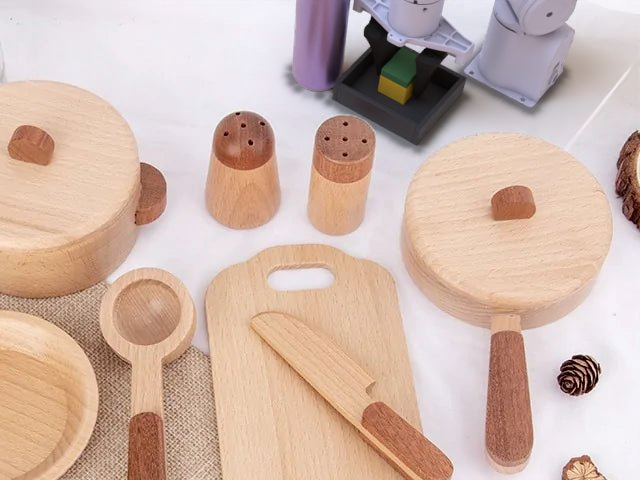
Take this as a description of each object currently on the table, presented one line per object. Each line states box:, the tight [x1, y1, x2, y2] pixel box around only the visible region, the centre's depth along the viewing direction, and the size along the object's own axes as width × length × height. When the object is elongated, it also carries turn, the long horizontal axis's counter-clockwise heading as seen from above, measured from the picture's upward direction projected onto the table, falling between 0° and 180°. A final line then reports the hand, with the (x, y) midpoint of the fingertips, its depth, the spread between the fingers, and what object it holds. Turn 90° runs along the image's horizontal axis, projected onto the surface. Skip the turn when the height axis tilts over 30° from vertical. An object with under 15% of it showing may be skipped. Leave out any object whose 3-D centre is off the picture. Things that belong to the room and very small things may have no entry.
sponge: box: [378, 48, 417, 104], centre depth 126 cm, size 4×4×4 cm
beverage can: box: [291, 0, 351, 92], centre depth 122 cm, size 6×6×15 cm
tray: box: [331, 44, 468, 146], centre depth 126 cm, size 12×10×3 cm
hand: (401, 81), depth 127 cm, fingers open, 4 cm apart
